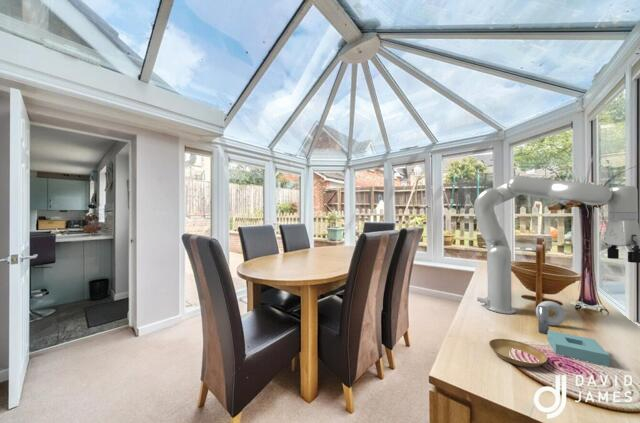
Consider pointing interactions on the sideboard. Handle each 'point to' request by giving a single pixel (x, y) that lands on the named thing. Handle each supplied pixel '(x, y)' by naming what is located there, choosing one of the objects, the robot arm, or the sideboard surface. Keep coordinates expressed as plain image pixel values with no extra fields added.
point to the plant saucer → (506, 345)
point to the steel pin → (543, 319)
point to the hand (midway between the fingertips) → (623, 260)
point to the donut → (558, 310)
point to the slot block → (578, 348)
